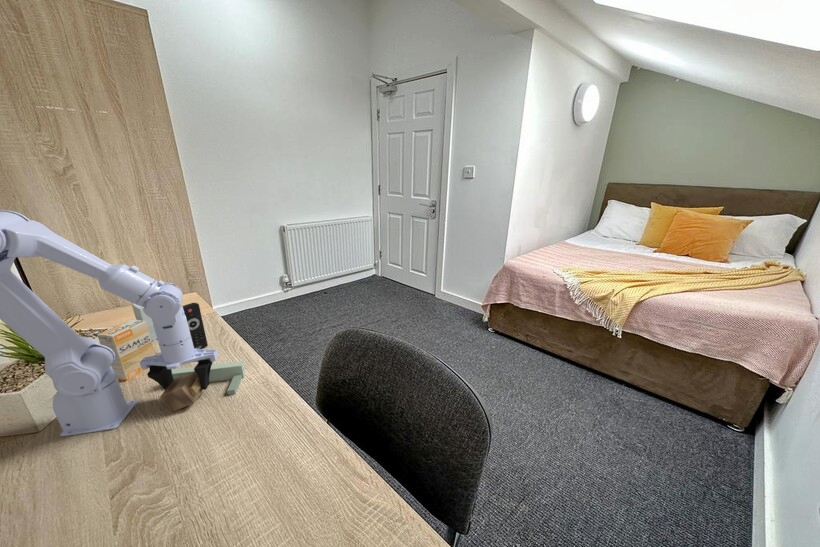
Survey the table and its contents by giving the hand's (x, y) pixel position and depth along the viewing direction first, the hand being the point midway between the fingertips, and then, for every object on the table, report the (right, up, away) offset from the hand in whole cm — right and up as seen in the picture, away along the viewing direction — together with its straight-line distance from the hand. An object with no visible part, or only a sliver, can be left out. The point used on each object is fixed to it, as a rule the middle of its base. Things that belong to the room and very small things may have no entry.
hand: (188, 389), depth 71 cm
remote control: (-10, +4, +18) cm, 21 cm away
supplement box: (-20, +1, +9) cm, 22 cm away
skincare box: (-28, +7, +24) cm, 37 cm away
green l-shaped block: (+1, -1, +3) cm, 4 cm away
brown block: (-2, -1, -2) cm, 3 cm away
